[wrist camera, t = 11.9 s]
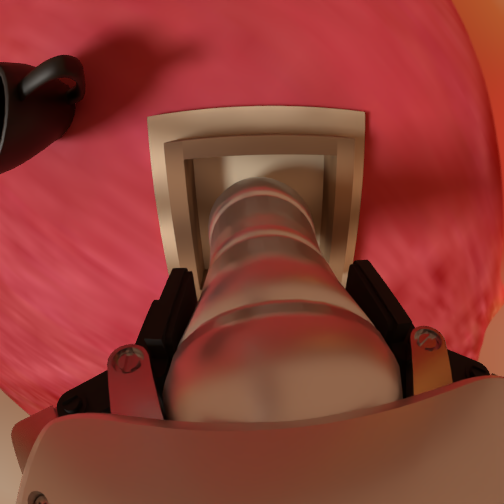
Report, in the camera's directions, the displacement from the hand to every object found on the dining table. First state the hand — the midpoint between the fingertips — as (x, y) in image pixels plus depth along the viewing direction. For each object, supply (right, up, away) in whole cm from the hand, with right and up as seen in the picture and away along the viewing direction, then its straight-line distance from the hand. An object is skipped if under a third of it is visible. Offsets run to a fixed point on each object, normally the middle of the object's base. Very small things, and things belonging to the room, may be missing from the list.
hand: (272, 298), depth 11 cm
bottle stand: (0, +5, +11) cm, 12 cm away
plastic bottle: (0, +4, +9) cm, 10 cm away
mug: (-17, +14, +6) cm, 23 cm away
